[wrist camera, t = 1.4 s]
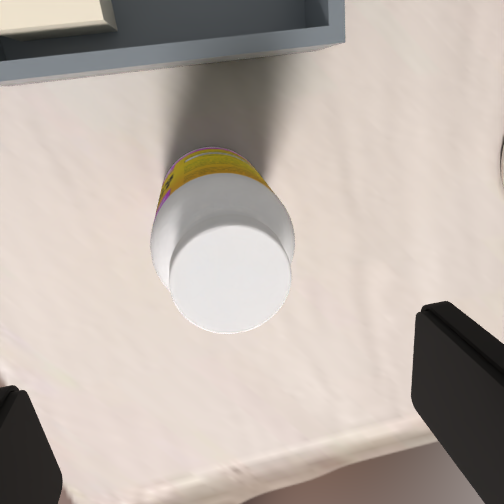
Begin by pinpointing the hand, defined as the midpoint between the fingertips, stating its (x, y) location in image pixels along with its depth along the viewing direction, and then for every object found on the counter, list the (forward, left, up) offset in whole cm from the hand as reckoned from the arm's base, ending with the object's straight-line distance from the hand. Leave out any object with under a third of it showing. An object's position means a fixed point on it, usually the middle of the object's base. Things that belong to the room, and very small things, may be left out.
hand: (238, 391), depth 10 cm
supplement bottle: (0, 0, -19) cm, 19 cm away
